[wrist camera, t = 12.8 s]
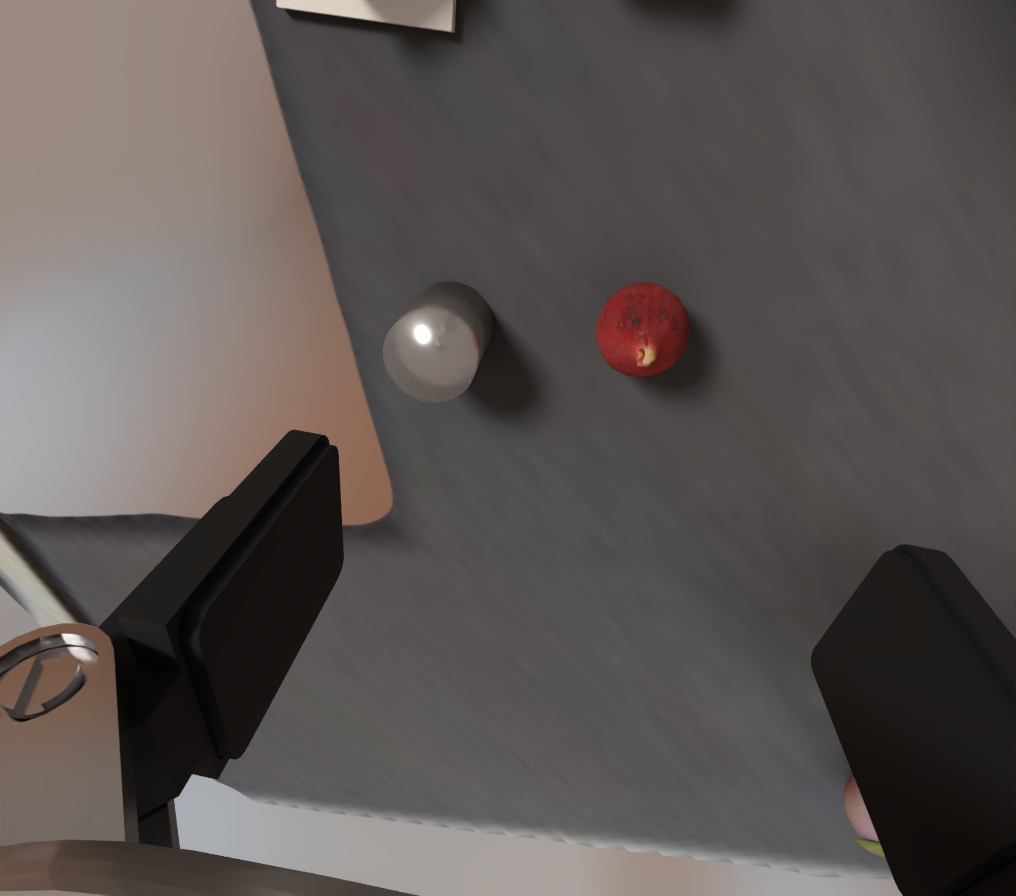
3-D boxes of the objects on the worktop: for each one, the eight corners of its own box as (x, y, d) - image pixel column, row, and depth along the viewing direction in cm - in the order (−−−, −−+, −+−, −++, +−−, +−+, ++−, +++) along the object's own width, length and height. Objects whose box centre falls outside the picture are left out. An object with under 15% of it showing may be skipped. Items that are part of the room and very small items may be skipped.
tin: (414, 275, 38) (382, 306, 32) (497, 288, 38) (479, 322, 32) (412, 352, 41) (383, 393, 36) (488, 365, 41) (471, 409, 35)
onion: (587, 282, 37) (586, 322, 30) (673, 258, 35) (692, 295, 29) (605, 358, 40) (608, 411, 33) (686, 340, 38) (705, 390, 31)
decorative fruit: (838, 787, 66) (874, 887, 57) (822, 752, 62) (857, 852, 54) (926, 777, 62) (978, 881, 54) (913, 739, 59) (966, 845, 50)
